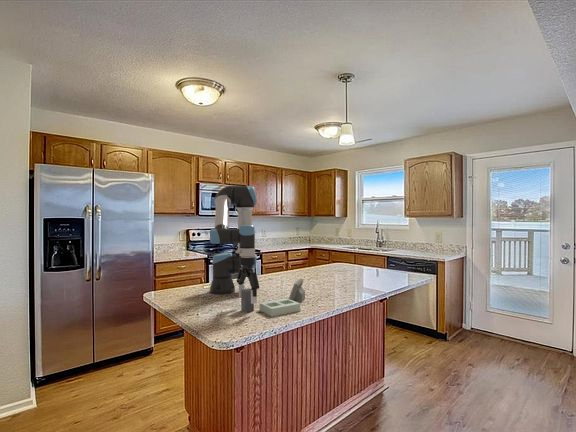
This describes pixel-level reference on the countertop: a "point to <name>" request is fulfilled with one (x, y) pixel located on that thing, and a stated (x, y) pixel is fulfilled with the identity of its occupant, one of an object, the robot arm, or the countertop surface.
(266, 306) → the outlet plate
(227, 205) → the robot arm
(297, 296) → the digital clock
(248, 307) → the charger
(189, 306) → the countertop surface
